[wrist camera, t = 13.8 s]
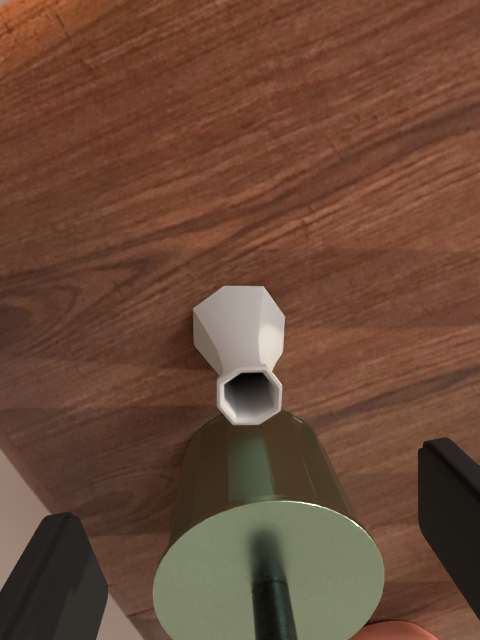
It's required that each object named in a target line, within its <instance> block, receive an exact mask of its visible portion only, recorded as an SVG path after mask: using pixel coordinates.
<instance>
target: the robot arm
mask: <svg viewBox="0 0 480 640" xmlns="http://www.w3.org/2000/svg"><path fill="white" fill-rule="evenodd" d="M418 521H419V526H420V529H421V532H422V534H423V536H424V537H425V539H426V540H427V542H428V543H429V545H430V546H431V548H432V549H433V551H434V552H435V554H436V555H437V557H438V558H439V560H440V561H441V563H442V564H443V566H444V567H445V569H446V570H447V572H448V573H449V575H450V577H451V578H452V580H453V581H454V583H455V584H456V586H457V587H458V589H459V590H460V592H461V593H462V595H463V596H464V598H465V599H466V601H467V602H468V604H469V605H470V607H471V608H472V610H473V611H474V613H475V614H476V616H477V617H478V619H479V620H480V466H479V465H478V464H477V463H476V462H474V461H473V460H472V459H471V458H470V457H469V456H468V455H467V454H466V453H465V452H464V451H462V450H461V449H460V448H459V447H458V446H457V445H456V444H455V443H454V442H453V441H452V440H450V439H449V438H446V437H445V438H440V439H434V440H429V441H425V442H424V443H423V448H419V450H418ZM107 598H108V585H107V582H106V580H105V578H104V575H103V573H102V571H101V568H100V566H99V563H98V561H97V559H96V556H95V554H94V552H93V549H92V547H91V545H90V542H89V540H88V538H87V535H86V533H85V530H84V528H83V526H82V523H81V521H80V519H79V517H77V516H74V515H73V514H72V513H71V512H64V513H59V514H53V515H48V516H46V517H45V518H44V519H43V520H42V521H41V523H40V525H39V526H38V528H37V530H36V531H35V533H34V535H33V537H32V538H31V540H30V542H29V543H28V545H27V547H26V548H25V550H24V552H23V554H22V555H21V557H20V559H19V560H18V562H17V564H16V566H15V567H14V569H13V571H12V572H11V574H10V576H9V578H8V579H7V581H6V583H5V585H4V586H3V588H2V590H1V591H0V640H96V637H97V634H98V631H99V627H100V624H101V620H102V616H103V613H104V609H105V606H106V603H107Z"/></svg>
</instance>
